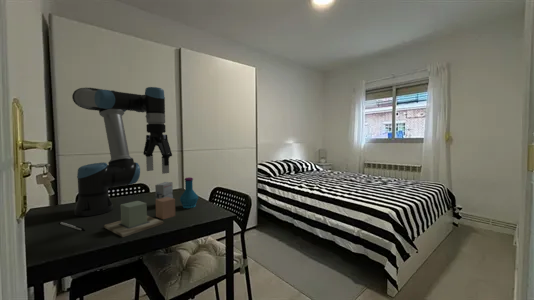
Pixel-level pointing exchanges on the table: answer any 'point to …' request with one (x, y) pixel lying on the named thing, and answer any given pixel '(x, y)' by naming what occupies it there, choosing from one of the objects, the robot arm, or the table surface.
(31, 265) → the table surface
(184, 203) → the teal vase
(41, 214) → the table surface
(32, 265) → the table surface
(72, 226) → the pen
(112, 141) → the robot arm
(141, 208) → the sage block
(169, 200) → the terracotta block
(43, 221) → the table surface
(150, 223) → the beige flat square slab
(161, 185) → the ink box
